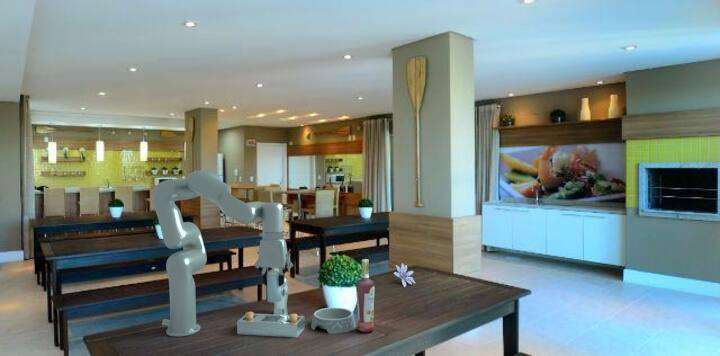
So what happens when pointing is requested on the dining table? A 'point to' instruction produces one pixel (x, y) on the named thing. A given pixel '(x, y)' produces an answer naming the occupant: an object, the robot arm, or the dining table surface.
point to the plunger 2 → (293, 318)
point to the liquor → (365, 300)
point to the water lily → (404, 275)
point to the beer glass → (282, 300)
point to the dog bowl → (334, 320)
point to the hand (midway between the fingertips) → (273, 284)
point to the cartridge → (273, 286)
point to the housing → (270, 325)
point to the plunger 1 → (249, 316)
